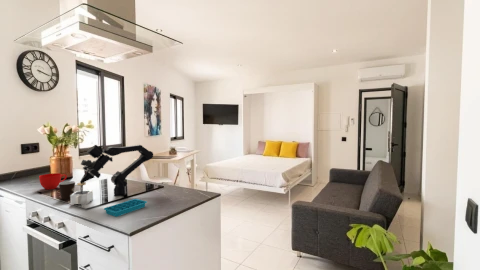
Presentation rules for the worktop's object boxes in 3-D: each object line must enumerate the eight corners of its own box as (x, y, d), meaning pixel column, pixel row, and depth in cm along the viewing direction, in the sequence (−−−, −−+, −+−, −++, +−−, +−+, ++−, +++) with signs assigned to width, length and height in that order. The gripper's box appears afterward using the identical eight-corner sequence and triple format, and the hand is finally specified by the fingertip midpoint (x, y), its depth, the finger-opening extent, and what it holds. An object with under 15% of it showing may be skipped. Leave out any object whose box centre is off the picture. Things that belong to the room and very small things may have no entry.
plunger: (89, 194, 153) (89, 181, 152) (85, 197, 146) (85, 184, 146) (78, 195, 151) (77, 182, 151) (73, 198, 145) (73, 184, 144)
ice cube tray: (148, 206, 142) (148, 201, 142) (115, 218, 125) (115, 212, 125) (135, 203, 148) (135, 198, 148) (102, 214, 131) (102, 208, 131)
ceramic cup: (70, 186, 186) (70, 173, 185) (43, 191, 171) (43, 177, 171) (63, 184, 193) (62, 171, 192) (36, 189, 178) (36, 175, 178)
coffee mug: (67, 200, 152) (66, 184, 152) (55, 199, 154) (55, 184, 154) (82, 195, 164) (82, 180, 163) (71, 194, 165) (71, 179, 165)
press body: (92, 199, 154) (92, 190, 154) (85, 205, 143) (85, 195, 143) (77, 200, 152) (76, 191, 152) (68, 206, 141) (68, 196, 141)
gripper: (85, 153, 158) (65, 172, 150) (94, 156, 144) (72, 177, 137) (99, 163, 164) (81, 182, 156) (108, 167, 150) (88, 188, 143)
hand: (80, 182), depth 148 cm, fingers closed, pressing on plunger
